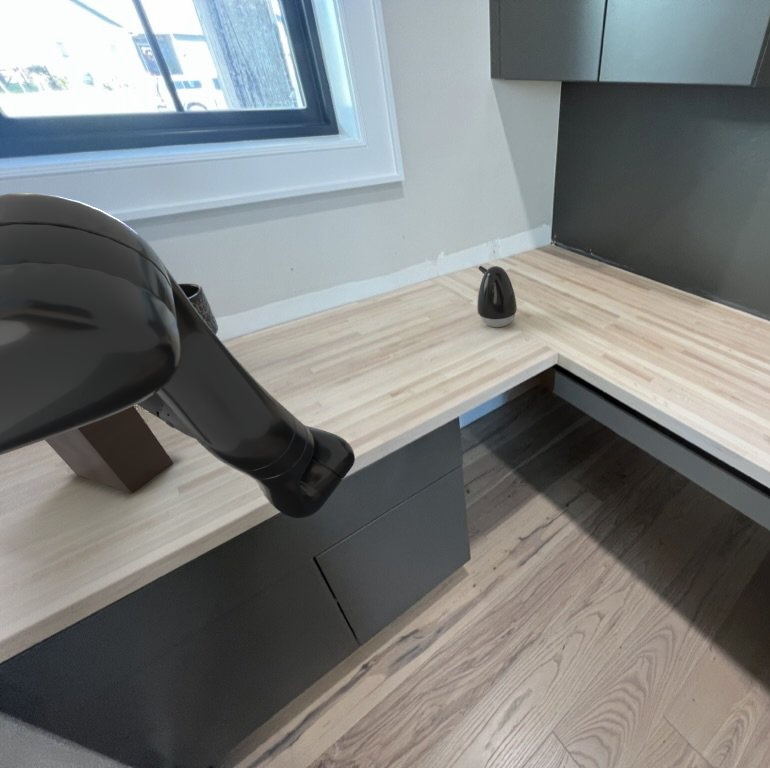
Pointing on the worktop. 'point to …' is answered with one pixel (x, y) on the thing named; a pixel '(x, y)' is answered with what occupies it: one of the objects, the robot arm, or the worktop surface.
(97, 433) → the stand
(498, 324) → the pump dispenser
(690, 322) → the worktop surface
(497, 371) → the worktop surface
